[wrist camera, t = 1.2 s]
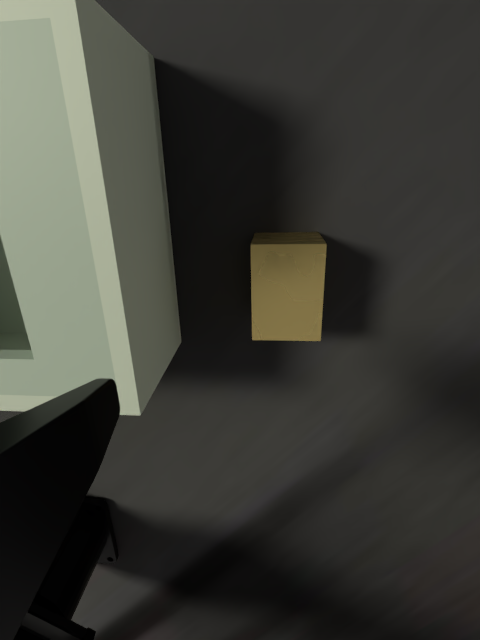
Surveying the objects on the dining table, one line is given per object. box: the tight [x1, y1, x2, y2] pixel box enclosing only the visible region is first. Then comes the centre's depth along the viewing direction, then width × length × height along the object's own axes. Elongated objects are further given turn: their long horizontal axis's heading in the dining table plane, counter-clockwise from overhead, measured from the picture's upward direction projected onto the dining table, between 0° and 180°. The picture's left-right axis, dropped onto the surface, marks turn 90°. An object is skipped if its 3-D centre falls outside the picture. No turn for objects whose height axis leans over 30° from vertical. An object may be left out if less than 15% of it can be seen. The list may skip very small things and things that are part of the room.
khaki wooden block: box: [251, 232, 327, 341], centre depth 18 cm, size 4×3×4 cm
